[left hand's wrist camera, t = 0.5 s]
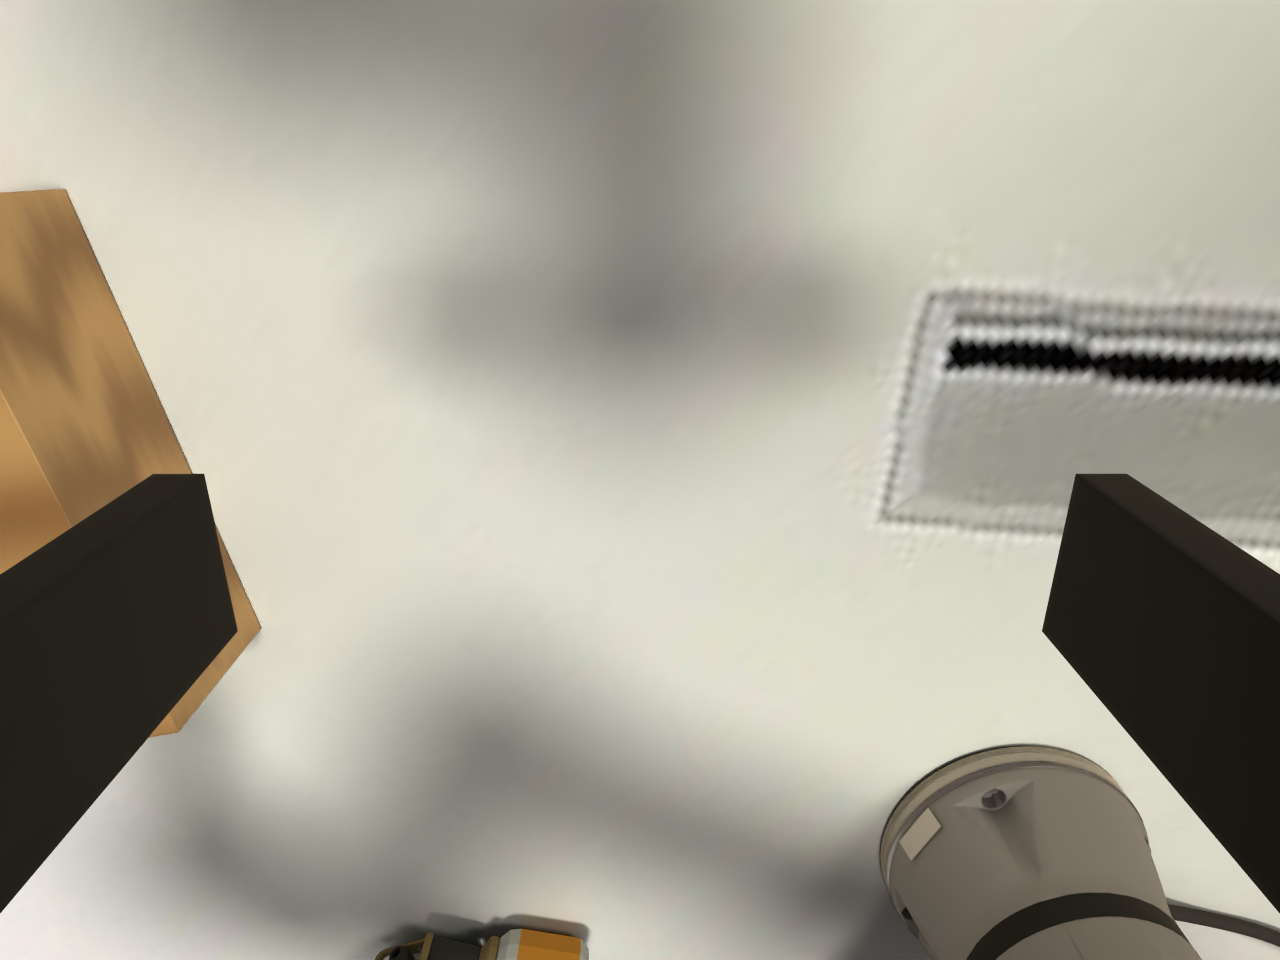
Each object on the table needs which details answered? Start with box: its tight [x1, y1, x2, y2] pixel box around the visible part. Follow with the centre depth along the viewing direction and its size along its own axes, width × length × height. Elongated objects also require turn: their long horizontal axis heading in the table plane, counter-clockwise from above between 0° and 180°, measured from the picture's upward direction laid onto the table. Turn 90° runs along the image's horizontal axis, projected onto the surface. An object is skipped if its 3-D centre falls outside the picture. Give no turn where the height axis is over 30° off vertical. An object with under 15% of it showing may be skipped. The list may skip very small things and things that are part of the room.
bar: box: [0, 189, 261, 738], centre depth 36 cm, size 23×6×9 cm, turn 12°
